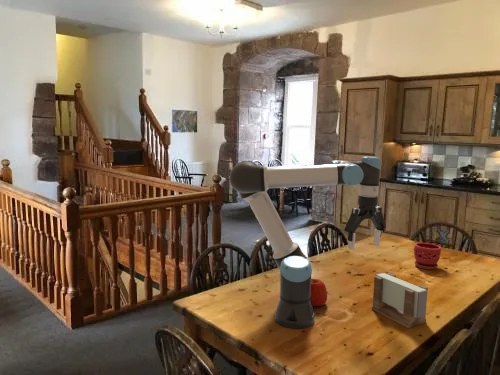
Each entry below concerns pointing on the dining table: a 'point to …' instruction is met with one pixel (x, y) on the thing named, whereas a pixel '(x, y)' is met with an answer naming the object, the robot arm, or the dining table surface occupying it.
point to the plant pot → (427, 255)
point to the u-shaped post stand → (392, 312)
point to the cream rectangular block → (402, 294)
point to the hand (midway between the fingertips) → (364, 247)
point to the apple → (318, 293)
